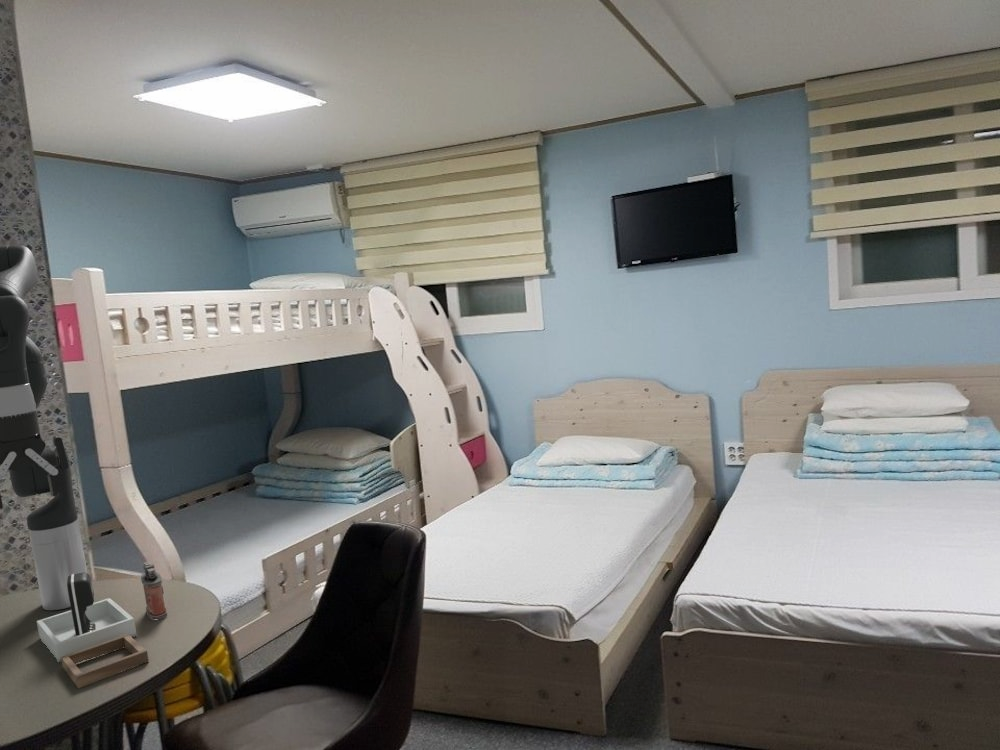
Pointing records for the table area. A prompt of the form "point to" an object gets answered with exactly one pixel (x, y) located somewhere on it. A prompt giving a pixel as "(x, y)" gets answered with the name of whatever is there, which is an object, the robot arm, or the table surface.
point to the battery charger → (80, 601)
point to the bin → (108, 623)
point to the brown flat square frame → (107, 669)
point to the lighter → (153, 592)
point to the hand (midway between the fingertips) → (27, 502)
